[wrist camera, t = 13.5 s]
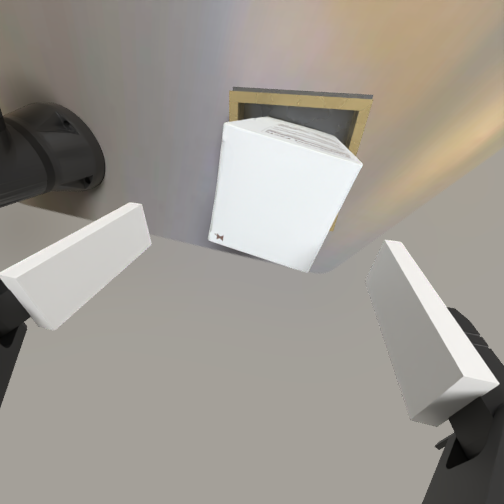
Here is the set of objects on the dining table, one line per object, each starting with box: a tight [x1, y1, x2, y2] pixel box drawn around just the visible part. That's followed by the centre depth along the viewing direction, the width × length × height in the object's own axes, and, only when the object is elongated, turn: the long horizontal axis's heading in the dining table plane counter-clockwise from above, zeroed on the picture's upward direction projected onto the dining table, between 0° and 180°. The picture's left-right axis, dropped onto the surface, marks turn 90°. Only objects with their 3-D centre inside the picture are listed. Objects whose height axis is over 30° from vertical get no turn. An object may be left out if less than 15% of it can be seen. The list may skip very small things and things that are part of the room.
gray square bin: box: [229, 87, 373, 231], centre depth 31 cm, size 16×16×9 cm
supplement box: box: [208, 116, 363, 273], centre depth 23 cm, size 10×9×17 cm
